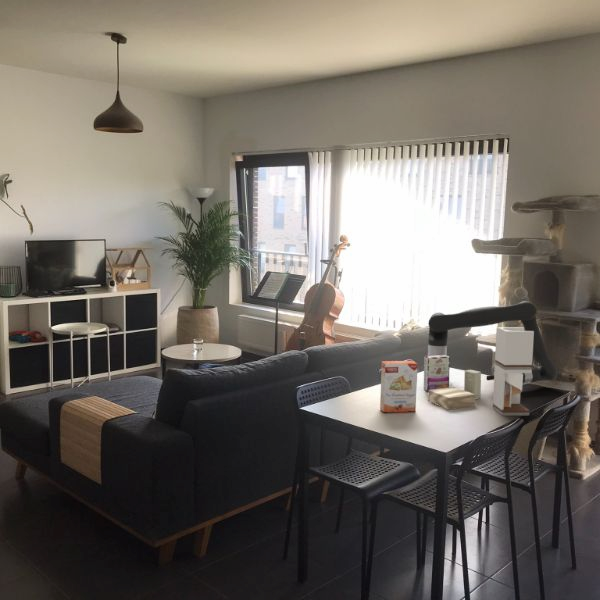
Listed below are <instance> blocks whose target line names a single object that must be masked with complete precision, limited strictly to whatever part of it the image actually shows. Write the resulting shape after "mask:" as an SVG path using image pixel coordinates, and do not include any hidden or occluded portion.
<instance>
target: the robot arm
mask: <svg viewBox="0 0 600 600" xmlns="http://www.w3.org/2000/svg"><path fill="white" fill-rule="evenodd" d="M536 315H537V307H536V305H535V304H534V303H533V302H531V301H529V300H523V301H520V302H519V303H516V304H511V305H505V306H504V305H503V306H482V307H476V308H475V307H474V308H470V309H468V310H464V311H460V312H457V313H456V312H455V313H451V314H450V313H449V314H448V313H447V314H444V313H442V312H434V314H432V315H431V316H430V318H429V319H428V327H429V328H428V331H429V332H428V339H427V340H428V342H427V343H428V345H427V349H428V350H427V356H433V355H447V350H448V349H447V348H448V336H449V335H448V333H449V331H451V330H456V329H465V328H466V329H467V328H478V327H486V326H492V325H497V324H500V323H504V322H514V321H515V322H516V321H520V322H521V323H522V326H523V327H524V331H534V339H533V357H532V361H534V362H535V363H538V364H540V366H534V367H532V373H522V374H523V384H522V385H527V384H530V383H535V382H541V381H542V382H543V381H552V380H555V379H556V378H557V375H558V372H557V367H556V365H555V364H554V363H553V361H552V359H551V358H550V356H549V355H548V351H547V350H548V349H547V348H546V345H545V342H544V339H543V337H542V334H541V332H540V329H539V325H538V323H537V322H538V321H537V316H536ZM447 356H448V355H447ZM486 381H494V372H491V373H490V374H489V375H488V374H487V375H486Z"/></svg>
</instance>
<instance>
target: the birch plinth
mask: <svg viewBox="0 0 600 600" xmlns="http://www.w3.org/2000/svg"><path fill="white" fill-rule="evenodd" d="M429 401H431V402H430V403H432V402H433V403H432V404H434V403H435V405H437V404H438V405H437V406H439V405H440V406H439V407H442V408H444V407H445V409H446V408H447V409H446V410H454V408H456V409H461V407H462V408H467V407H474V406H476V399H475V394H473V393H470V392H467V391H464V389H461V388H459V387H455V386H449V388H441V389H433V390H429V392H428V402H429Z"/></svg>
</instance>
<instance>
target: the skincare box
mask: <svg viewBox="0 0 600 600" xmlns="http://www.w3.org/2000/svg"><path fill="white" fill-rule="evenodd" d="M481 379H482V372H481V371H478V370H475V369H474V370H473V369H467V370H464V384H463V385H464V389H463V390H464V391H467V392H470V393H473V394H475V400H479V399H480V398H481V394H482V393H481V392H482V390H481V389H482V388H481V387H482V386H481V385H482V380H481Z"/></svg>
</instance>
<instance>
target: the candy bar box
mask: <svg viewBox="0 0 600 600" xmlns="http://www.w3.org/2000/svg"><path fill="white" fill-rule="evenodd" d="M423 359H424V360H423V390H424V391H426V392H428V393H429V390H433V389H441V388H449V387H450V366H451V365H450V364H451V361H450V359H451V358H450V356H449V355H433V356H428V355H424V357H423Z"/></svg>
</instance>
